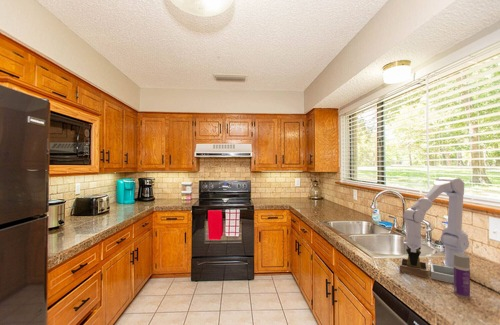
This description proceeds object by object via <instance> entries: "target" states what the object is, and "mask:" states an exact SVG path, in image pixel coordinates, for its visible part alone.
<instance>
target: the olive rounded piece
mask: <svg viewBox="0 0 500 325" xmlns="http://www.w3.org/2000/svg"><path fill="white" fill-rule="evenodd" d="M406 249H411V248H410V247H408V248H406ZM416 251H420V252H421V249H419V248H418V249H416ZM407 255H408V254H407ZM407 259H408V260H407V265H406V266H409V267H414V268H419V269H422V268H421V265H420V262H421V261H420V256H419V257H418V261H417V265H416V266H414V265H411V263H410V258H409V255H408V256H407Z"/></svg>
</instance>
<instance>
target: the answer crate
mask: <svg viewBox="0 0 500 325" xmlns="http://www.w3.org/2000/svg"><path fill="white" fill-rule="evenodd" d="M429 264H430V265H429V267H430V268H429V269H430V270H429V272H430V276H431V277H430V278H431V279H433V280H435V281H440V282H445V283H446V282H447V283H450V284H454V268H452V267H447V266H445V265H440V264H435V263H429Z"/></svg>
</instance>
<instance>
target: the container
mask: <svg viewBox="0 0 500 325" xmlns="http://www.w3.org/2000/svg"><path fill="white" fill-rule="evenodd" d="M470 267H471V263H470V256H468V255H467V254H465V253H464V254H458V253H456V254H454V275H453V276H454V283H453V293H454V295H456V296H458V297H462V298H470V297H471V271H470V270H471V268H470Z"/></svg>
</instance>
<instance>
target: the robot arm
mask: <svg viewBox="0 0 500 325" xmlns="http://www.w3.org/2000/svg"><path fill="white" fill-rule="evenodd" d="M443 193H445V194H446V195H447V196H448V209H447V210H448V211H447V227H446V228H443V229H442V233H441V235H440V242H441V243H442V245H443V246H444V259H442V262H443V264H444V265H443V266H447V267H452V268H454V254H456V253H458V254H464V255H465V251H467V249H468V248H469V246H470V241H469V239H468V237H469V236H468V234H467V233H466V232H465V231H464V230H463V229H462V228H463V213H464V211H463V209H464V208H463V207H464V194H465V182H464V181H463V180H462V179H461V178H460V177H441V176H439V177H436V179H435V180H434V181H433V186H432V187H431V189H430V190H429V191H428V192H427V193H426V195H425V196H424V197H419V198H418V199H417V201H416V202H415V203H414V204H413V205H412V206H411V207H410V208H407V209H405V210H404V213H403V214H402V216H403V219H404V220H405V224H406V226H405V228H406V235H405V236H406V241H403V245H406V247H407V248H408V247H410V248H411V249H407V248H406V253H407V255H409V258H410V263H411V265H414V266H416V265H417V261H418V257H419V258H420V255H421V254H422V252H421V249H422V222H424V220H425V216H426V213H427V212H428V211H429V210H430V209H431V208H432V207H433V202H434V201H435V200H436V199H437V198H438V197H439V196H440V195H442V194H443ZM418 248H419V249H420V251H416V249H418Z"/></svg>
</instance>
